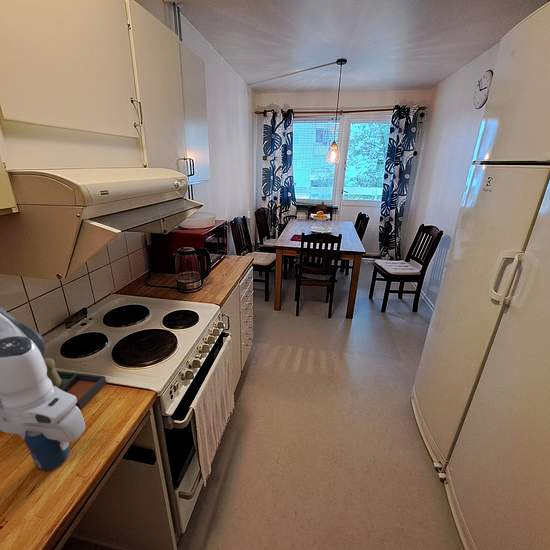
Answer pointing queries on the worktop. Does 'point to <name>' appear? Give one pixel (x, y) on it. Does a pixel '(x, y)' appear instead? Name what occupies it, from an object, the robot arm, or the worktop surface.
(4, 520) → the worktop surface
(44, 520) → the worktop surface
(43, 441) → the soda can
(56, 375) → the olive green rounded piece
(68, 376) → the sorting tray
